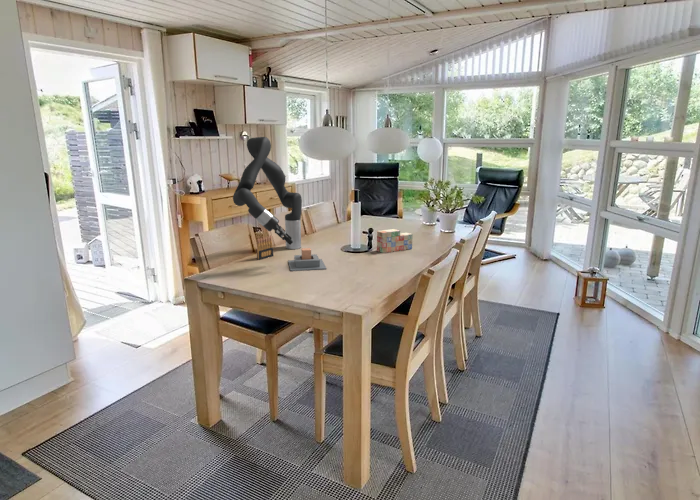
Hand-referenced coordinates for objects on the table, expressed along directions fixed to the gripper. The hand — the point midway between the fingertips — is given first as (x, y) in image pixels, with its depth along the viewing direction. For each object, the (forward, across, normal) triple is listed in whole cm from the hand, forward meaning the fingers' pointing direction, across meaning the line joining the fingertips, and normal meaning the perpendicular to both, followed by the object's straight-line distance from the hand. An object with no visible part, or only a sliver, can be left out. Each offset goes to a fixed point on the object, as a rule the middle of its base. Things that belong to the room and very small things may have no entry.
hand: (291, 241), depth 225 cm
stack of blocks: (+54, +24, -35) cm, 69 cm away
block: (+14, 0, +3) cm, 15 cm away
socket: (+15, 0, +4) cm, 15 cm away
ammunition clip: (0, +19, +19) cm, 27 cm away
